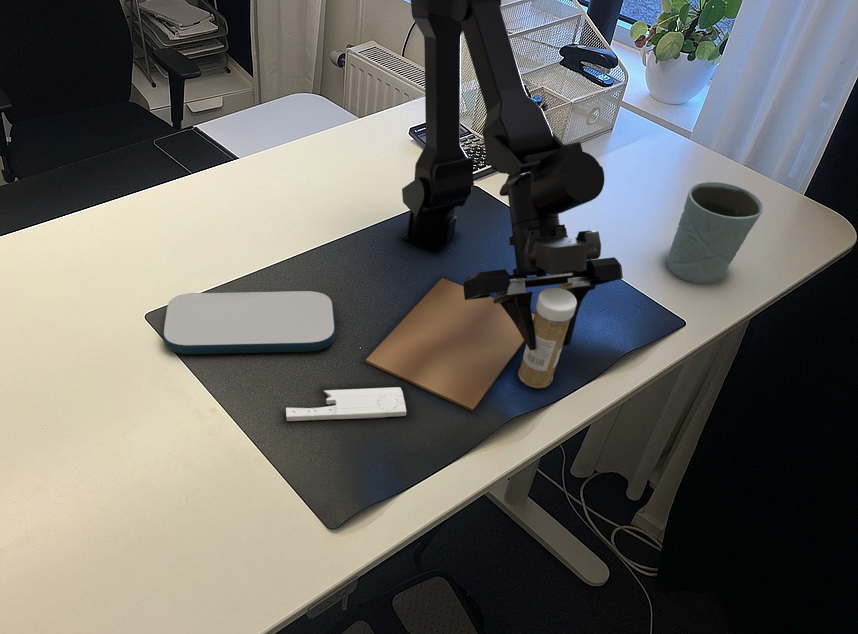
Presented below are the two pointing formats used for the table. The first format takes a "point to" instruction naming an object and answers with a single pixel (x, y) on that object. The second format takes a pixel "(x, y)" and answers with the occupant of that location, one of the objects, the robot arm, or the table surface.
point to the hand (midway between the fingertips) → (549, 347)
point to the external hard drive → (249, 322)
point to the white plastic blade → (354, 405)
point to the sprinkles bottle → (547, 336)
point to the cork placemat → (450, 345)
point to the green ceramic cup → (712, 231)
